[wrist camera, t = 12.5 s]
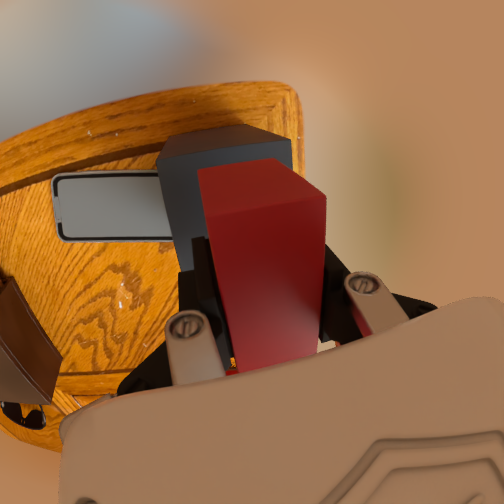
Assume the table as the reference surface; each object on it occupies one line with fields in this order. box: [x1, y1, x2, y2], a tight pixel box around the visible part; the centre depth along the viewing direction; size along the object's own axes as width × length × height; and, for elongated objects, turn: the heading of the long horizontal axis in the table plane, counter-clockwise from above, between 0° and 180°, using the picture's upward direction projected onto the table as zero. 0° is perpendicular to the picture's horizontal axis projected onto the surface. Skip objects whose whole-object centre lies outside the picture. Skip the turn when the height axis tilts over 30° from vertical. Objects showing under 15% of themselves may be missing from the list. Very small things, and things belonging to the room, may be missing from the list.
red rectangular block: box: [197, 158, 326, 373], centre depth 11 cm, size 8×3×4 cm, turn 6°
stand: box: [156, 124, 293, 272], centre depth 21 cm, size 9×7×12 cm
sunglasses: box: [0, 401, 46, 430], centre depth 34 cm, size 10×12×5 cm
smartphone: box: [51, 169, 173, 243], centre depth 25 cm, size 7×1×15 cm
